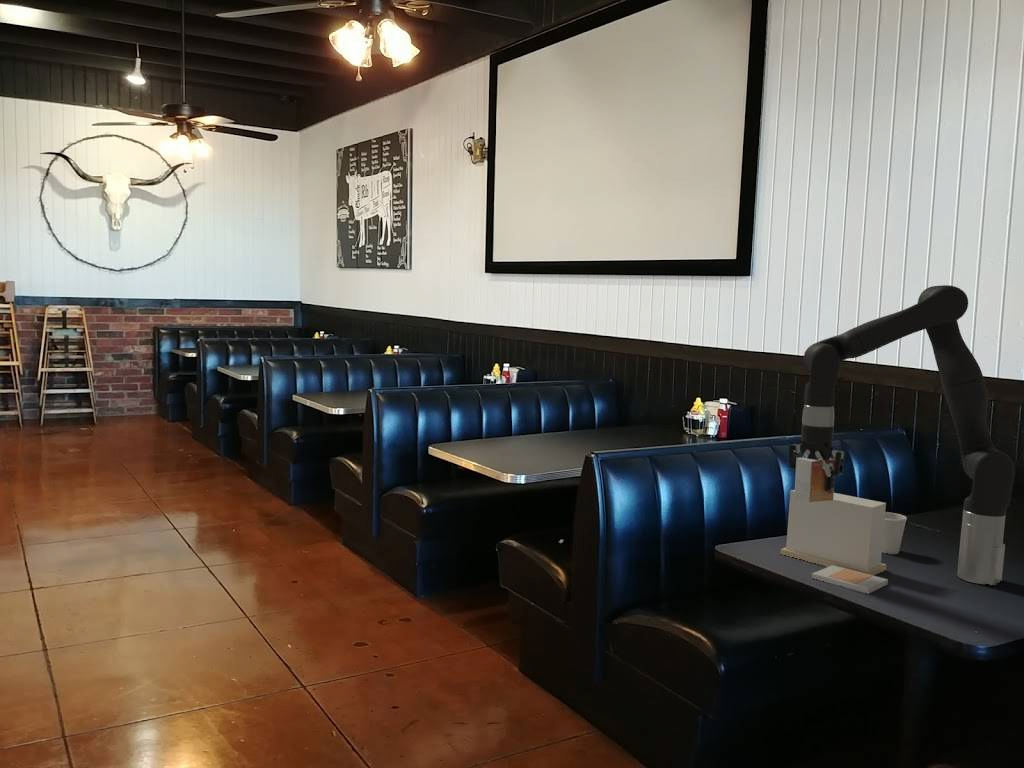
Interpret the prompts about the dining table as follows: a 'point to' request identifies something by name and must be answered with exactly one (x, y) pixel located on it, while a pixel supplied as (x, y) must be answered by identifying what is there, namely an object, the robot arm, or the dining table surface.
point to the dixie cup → (893, 532)
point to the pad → (850, 579)
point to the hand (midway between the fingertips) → (814, 488)
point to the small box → (811, 480)
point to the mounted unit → (837, 532)
